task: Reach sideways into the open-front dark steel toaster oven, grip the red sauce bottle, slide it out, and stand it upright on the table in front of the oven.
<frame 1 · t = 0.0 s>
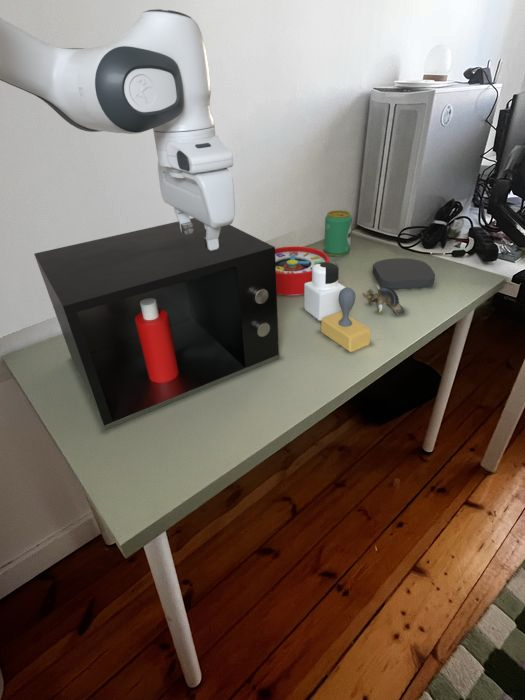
hand: (199, 240, 72), 27 cm above the table, tool pointing down, fingers open, 8 cm apart
media streaming box: (402, 278, 119), on the table
toy clock: (292, 279, 122), on the table
animal figurine: (384, 310, 104), on the table
medicine bottle: (324, 312, 105), on the table
beverage can: (336, 252, 137), on the table
rubber stamp: (344, 338, 95), on the table
sauce bottle: (163, 374, 85), point 1 cm above the table, touching toaster oven
toaster oven: (173, 359, 91), on the table
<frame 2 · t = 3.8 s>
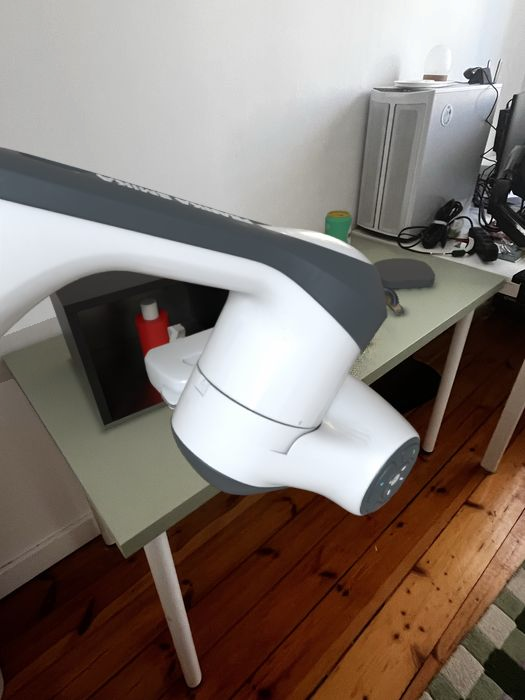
hand: (210, 318, 52), 26 cm above the table, tool horizontal, fingers open, 8 cm apart
nothing on the table moved.
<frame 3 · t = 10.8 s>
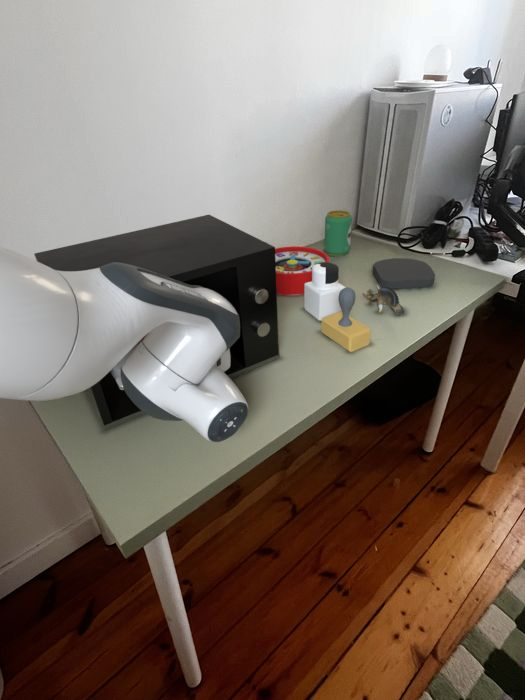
hand: (153, 334, 81), 10 cm above the table, tool horizontal, fingers closed on sauce bottle, 6 cm apart
sauce bottle: (163, 374, 85), point 1 cm above the table, touching gripper, toaster oven
everything else where it was.
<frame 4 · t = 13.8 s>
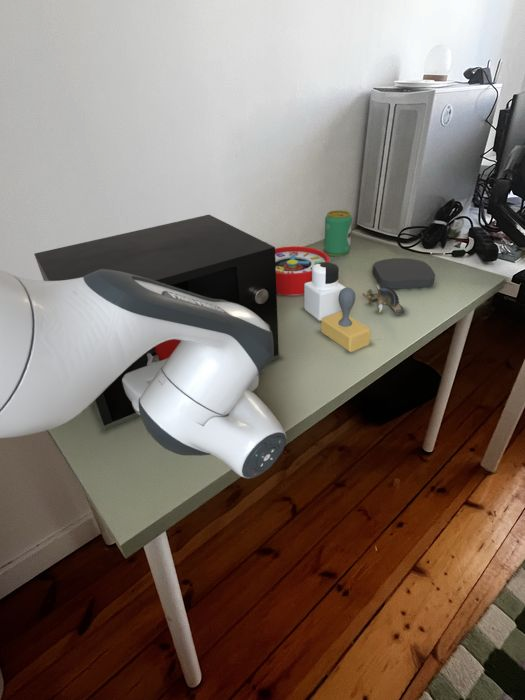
hand: (171, 348, 73), 12 cm above the table, tool horizontal, fingers closed on sauce bottle, 6 cm apart
sauce bottle: (181, 391, 77), point 3 cm above the table, touching gripper
everything else where it was.
when the fingers open (9 cm above the table, at t = 17.1 s): sauce bottle stays where it is, on the table.
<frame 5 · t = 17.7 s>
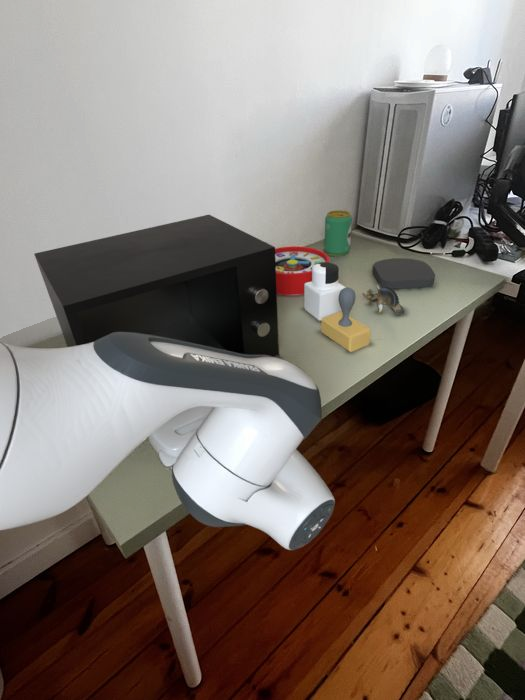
hand: (197, 387, 68), 9 cm above the table, tool horizontal, fingers open, 8 cm apart
sauce bottle: (207, 434, 72), on the table
everything else where it was.
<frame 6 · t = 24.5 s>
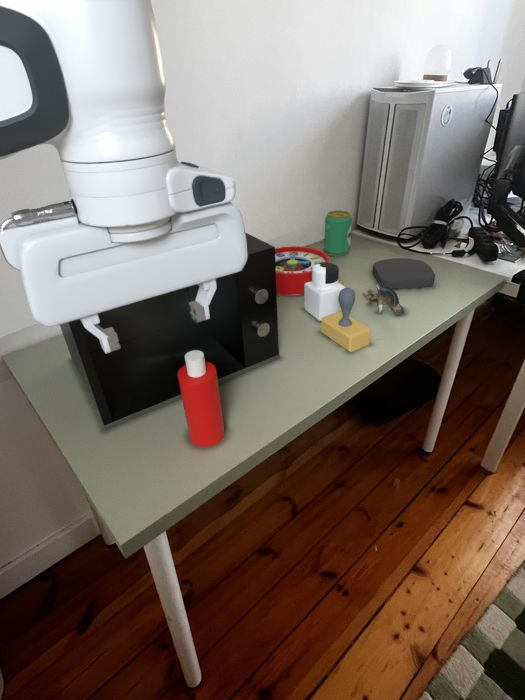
hand: (158, 333, 43), 29 cm above the table, tool pointing down, fingers open, 8 cm apart
nothing on the table moved.
at the end: sauce bottle inside the target area (0.1 cm from its centre), on the table; sauce bottle tilted 0°; the gripper is holding nothing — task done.
